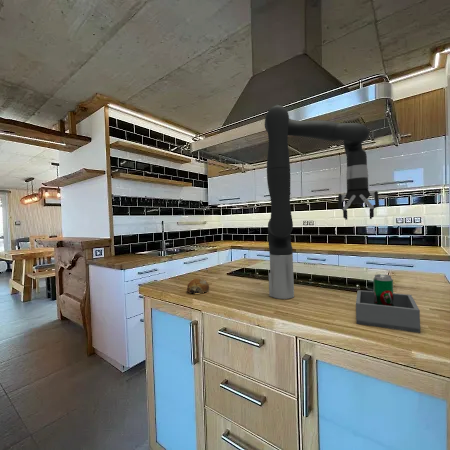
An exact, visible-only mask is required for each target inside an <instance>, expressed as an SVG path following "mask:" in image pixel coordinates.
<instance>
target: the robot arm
mask: <svg viewBox="0 0 450 450" xmlns="http://www.w3.org/2000/svg"><path fill="white" fill-rule="evenodd" d="M264 118H265V119H264V129H265V131H266V132H267V137H268V147H267V149H268V150H267V155H266V156H267V158H266V183H267V189H268V193H269V198H270V218H269V221H268V224H267V239H268V240H267V241H268V250H269V273H268V293H269V294H268V295H269V297H271V298H274V299H277V300H286V299H287V300H288V299H292V298H294V297H295V287H294V286H295V284H294V283H295V281H294V257H293V256H294V253H293V246H292V240H291V239H292V237H291V235H292V234H291V233H292V231H293V228H294V223H293V216H292V209H291V162H290V160H291V159H290V150H289V143H288V142H289V139H288V137H289V136H293V137H294V136H295V137H303V138H311V139H318V140H323V141H328V142H337V141H343V146H344V152H345V155H346V177H345V178H346V193H345V194H342V193H339V194H338V196H337V197H338V198H337V199H338V200H337V201H338V202H337V208H338V209H339V210H342V215H343V216H342V217H343V219H344V220H345V221H346V220H347V221H348V209H349V207H350V206H351V204H352V205H356V204H359V205H361V204H362V205H363V204H366V205H367V206H368V208H369V210H368V211H369V220H372V219H373V218H374V216H375V212H374V210H375V208H379V207H380V202H379V201H380V200H379V192H378V191H377V190H376V191H372V192H371V191H369V169H368V160H367V159H368V157H367V152H366V150H363V143H364V142H365V141H366V140H367V139H368V138H369V135H370V130H369V128H368V127H367V126H366V125H364V124H362V123H357V122H343V123H339V122H334V121H330V120H322V119H321V120H320V119H319V120H318V119H316V120H315V119H314V120H297V119H292V118H290V115H289V112H288V110H287V109H286V108H285V107H284V106H282V105H273V106H272V107H270V109H269V110H268V111H267V112H266V115H265V117H264ZM370 196H371V198H374V203H375V204H372V203H371V202H370V201H369V200H368V198H369V197H370ZM345 198H346V200H347V202H346V204H345V205H344V206H343V200H345Z"/></svg>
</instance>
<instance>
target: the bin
mask: <svg viewBox="0 0 450 450" xmlns="http://www.w3.org/2000/svg"><path fill="white" fill-rule="evenodd" d="M356 290H357V289H356ZM393 296H394V306H386V305H377V304H374V290H373V291H372V290H360V289H358V290H357V293H356V299H355V319H356V321H355V322H356V324H358V325H363V326H371V327H378V328H384V329H392V330H397V331H399V330H400V331H405V332H413V333H418V334H419V333H420V334H421V313H420V312H421V311H420V308H419V307H418V304H417V302H416V301H415V299H414V297H413V296H412V294H405V293H395V292H393Z"/></svg>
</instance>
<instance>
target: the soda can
mask: <svg viewBox="0 0 450 450" xmlns="http://www.w3.org/2000/svg"><path fill="white" fill-rule="evenodd" d="M372 280H373V292H374V304H377V305H386V306H394V296H393V293H394V279H393V278H392V276H391V275H390V274H380V273H379V274H375V275H374V277H373V279H372Z"/></svg>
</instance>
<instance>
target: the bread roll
mask: <svg viewBox="0 0 450 450" xmlns="http://www.w3.org/2000/svg"><path fill="white" fill-rule="evenodd" d="M186 288H187V289H186V291H187V293H188V292H189V293H188V294H190V293H202V294H204V293H203V292H206V293H208V292H209V291H210V285H209V282H208V281H207V280H205V279H204V278H203V277H202V278H201V277H196V278H193V279H192V280H190V282H189V283H188V284H187V287H186ZM208 290H209V291H208ZM207 291H208V292H207Z"/></svg>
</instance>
